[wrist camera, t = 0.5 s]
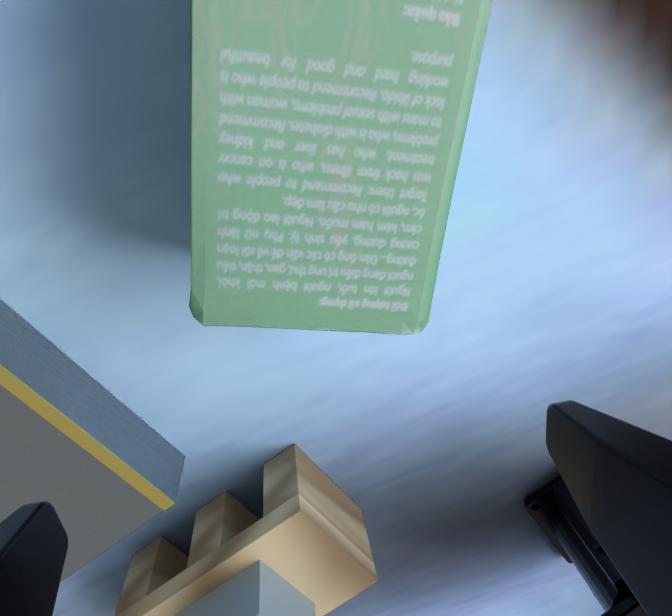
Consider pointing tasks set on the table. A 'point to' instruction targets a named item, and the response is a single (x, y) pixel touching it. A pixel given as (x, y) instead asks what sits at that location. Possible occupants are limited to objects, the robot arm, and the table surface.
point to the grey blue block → (253, 596)
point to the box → (326, 157)
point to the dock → (75, 447)
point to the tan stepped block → (261, 545)
